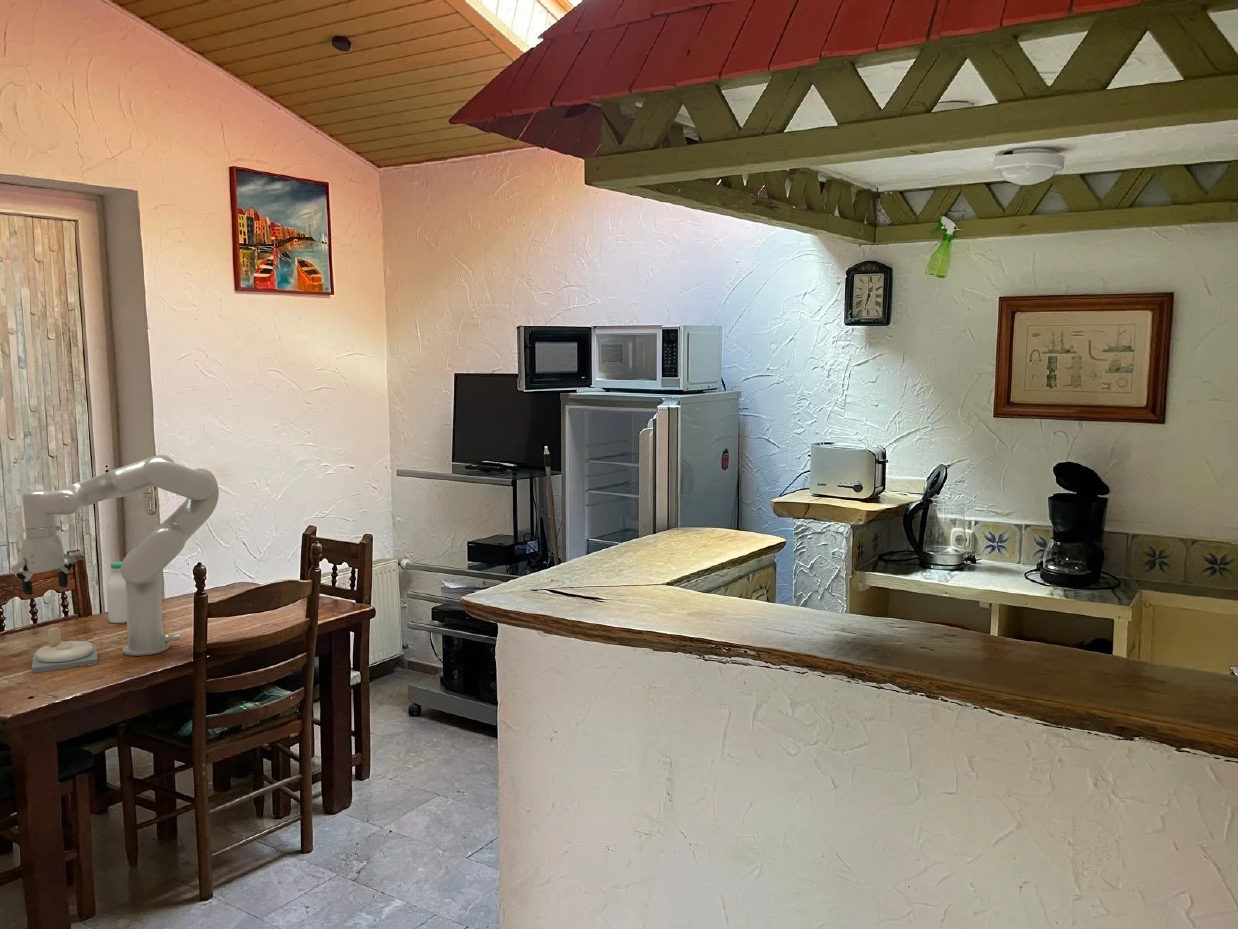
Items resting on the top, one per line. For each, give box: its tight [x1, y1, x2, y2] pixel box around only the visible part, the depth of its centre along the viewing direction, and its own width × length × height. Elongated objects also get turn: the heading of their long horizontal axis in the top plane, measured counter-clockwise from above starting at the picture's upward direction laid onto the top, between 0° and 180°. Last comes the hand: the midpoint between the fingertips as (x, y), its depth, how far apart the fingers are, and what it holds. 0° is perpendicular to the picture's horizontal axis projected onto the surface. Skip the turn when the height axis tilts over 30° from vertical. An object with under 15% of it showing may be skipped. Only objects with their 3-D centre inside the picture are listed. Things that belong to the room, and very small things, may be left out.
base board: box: [31, 644, 99, 674], centre depth 268 cm, size 16×16×2 cm
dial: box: [36, 627, 93, 662], centre depth 267 cm, size 14×14×7 cm
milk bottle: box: [106, 561, 127, 624], centre depth 309 cm, size 8×8×20 cm
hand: (46, 590), depth 267 cm, fingers open, 9 cm apart
